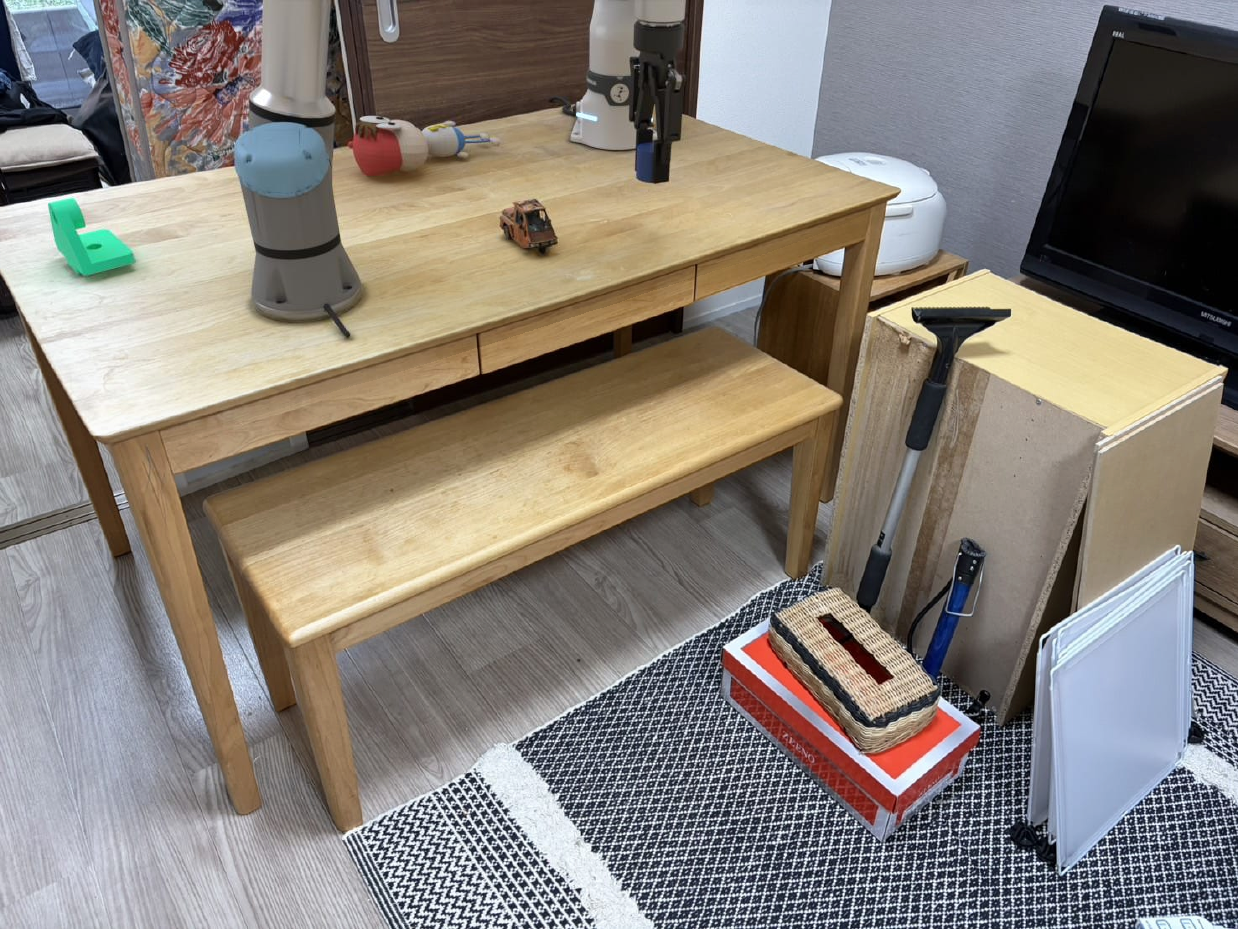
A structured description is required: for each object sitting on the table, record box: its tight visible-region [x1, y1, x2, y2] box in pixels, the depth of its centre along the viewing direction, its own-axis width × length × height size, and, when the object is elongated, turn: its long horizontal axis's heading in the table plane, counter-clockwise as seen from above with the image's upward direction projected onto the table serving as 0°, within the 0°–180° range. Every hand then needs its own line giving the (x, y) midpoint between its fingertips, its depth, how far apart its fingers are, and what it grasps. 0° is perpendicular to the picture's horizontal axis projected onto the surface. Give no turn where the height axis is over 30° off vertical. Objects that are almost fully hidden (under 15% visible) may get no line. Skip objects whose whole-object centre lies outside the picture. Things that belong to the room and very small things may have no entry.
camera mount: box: [47, 197, 136, 277], centre depth 139 cm, size 12×8×10 cm, turn 42°
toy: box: [347, 115, 502, 177], centre depth 180 cm, size 18×10×30 cm
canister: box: [635, 142, 654, 184], centre depth 149 cm, size 5×5×5 cm
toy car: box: [499, 198, 559, 255], centre depth 150 cm, size 6×12×7 cm, turn 39°
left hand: (651, 175), depth 151 cm, fingers closed on canister, 5 cm apart
